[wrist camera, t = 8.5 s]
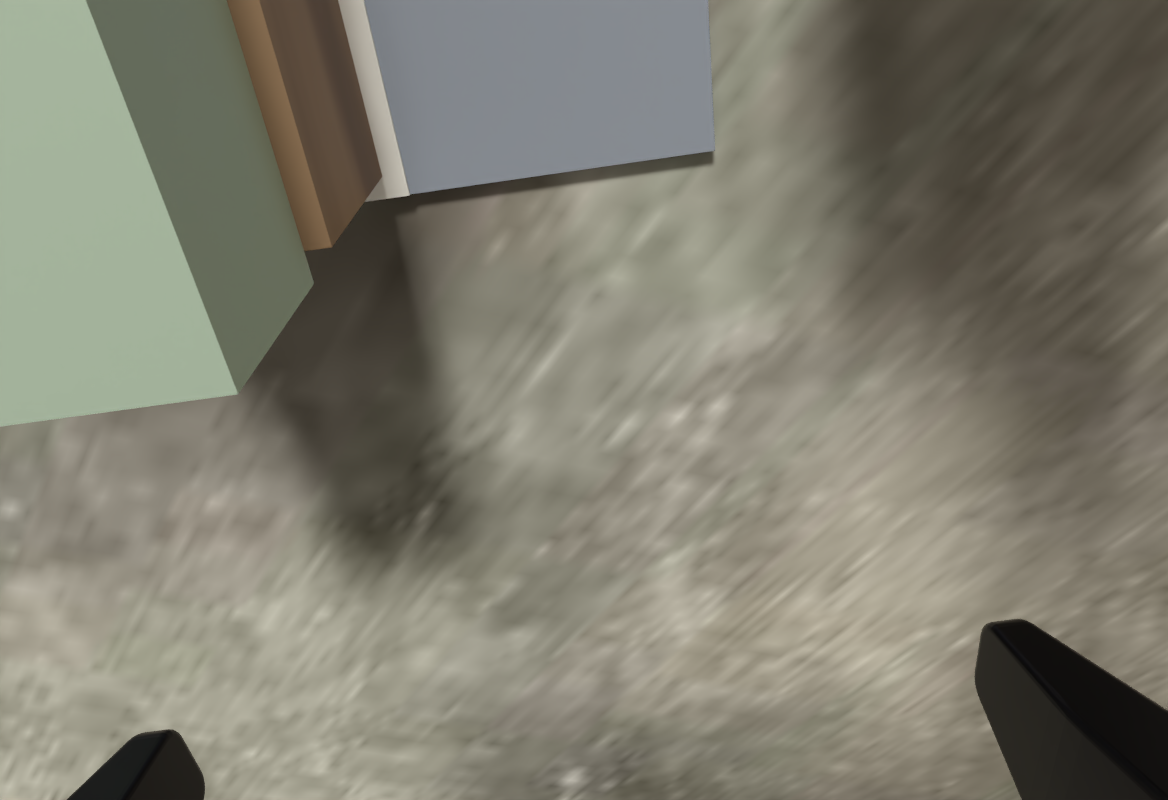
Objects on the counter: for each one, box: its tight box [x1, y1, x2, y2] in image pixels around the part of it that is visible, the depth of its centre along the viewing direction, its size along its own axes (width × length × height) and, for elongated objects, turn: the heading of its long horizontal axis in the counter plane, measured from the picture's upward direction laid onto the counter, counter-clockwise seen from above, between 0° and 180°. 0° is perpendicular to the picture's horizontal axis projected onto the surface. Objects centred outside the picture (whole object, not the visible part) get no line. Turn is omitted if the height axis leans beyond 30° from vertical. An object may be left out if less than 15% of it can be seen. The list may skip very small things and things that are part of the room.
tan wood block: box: [227, 0, 382, 251], centre depth 14 cm, size 5×5×5 cm
